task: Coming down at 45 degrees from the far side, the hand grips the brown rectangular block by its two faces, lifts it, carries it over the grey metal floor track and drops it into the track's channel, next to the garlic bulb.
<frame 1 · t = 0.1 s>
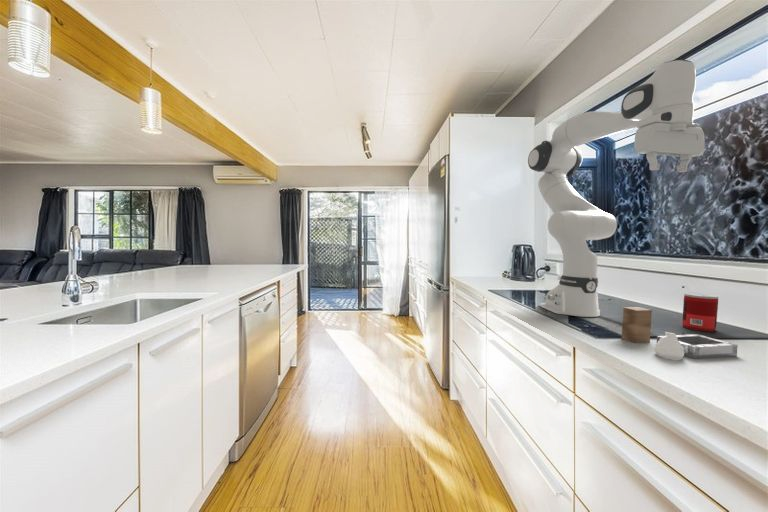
hand: (668, 170, 93), 48 cm above the countertop, tool pointing down, fingers open, 8 cm apart
garlic bulb: (668, 357, 80), on the countertop
brown rectangular block: (635, 340, 92), on the countertop
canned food: (698, 328, 106), on the countertop
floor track: (695, 351, 84), on the countertop
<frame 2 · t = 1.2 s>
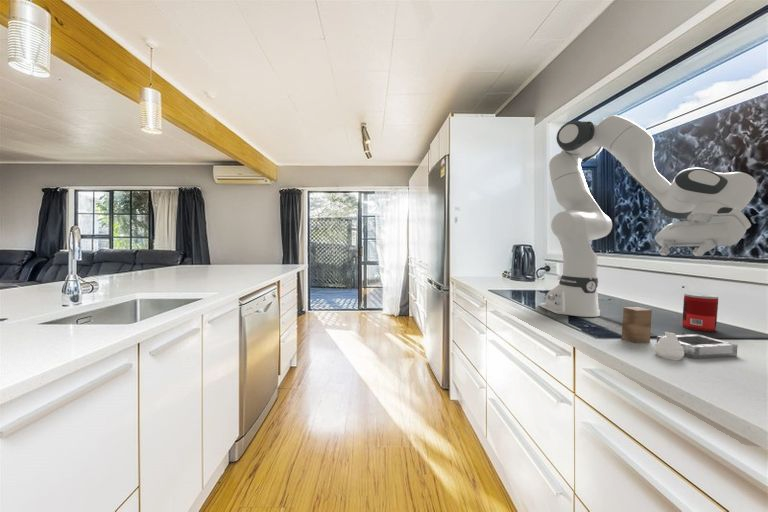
hand: (678, 254, 93), 24 cm above the countertop, tool tilted 45°, fingers open, 8 cm apart
nothing on the countertop moved.
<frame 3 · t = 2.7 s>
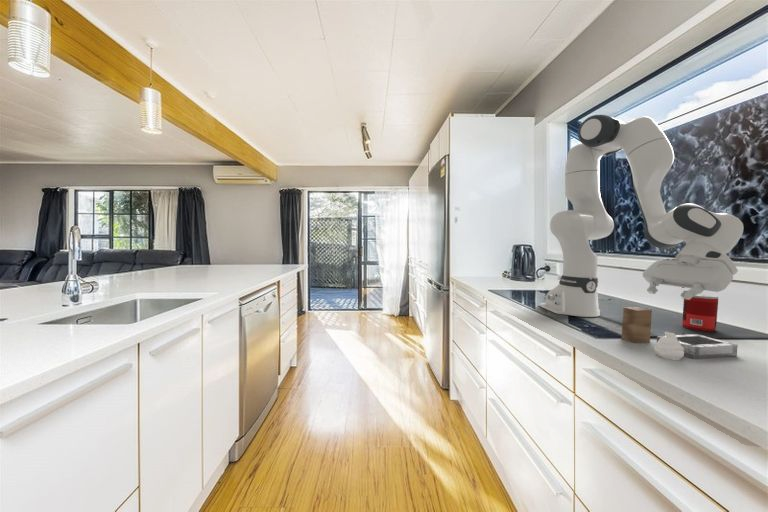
hand: (666, 294, 93), 13 cm above the countertop, tool tilted 45°, fingers open, 8 cm apart
nothing on the countertop moved.
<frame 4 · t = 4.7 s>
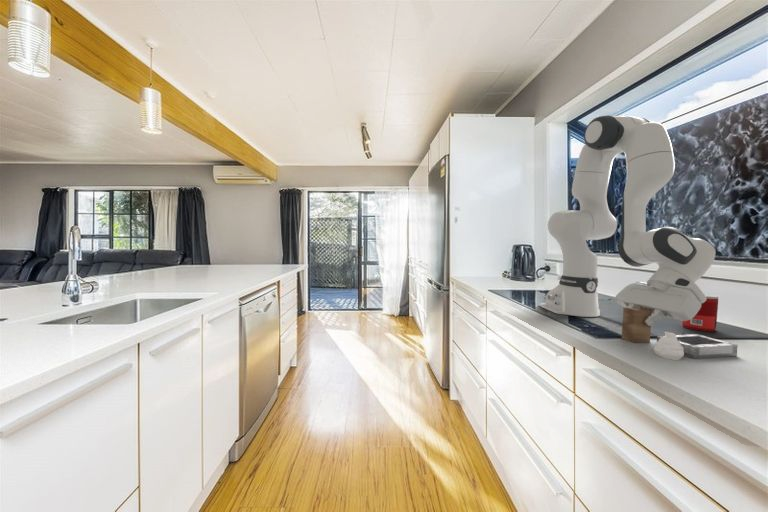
hand: (636, 321, 92), 5 cm above the countertop, tool tilted 45°, fingers closed on brown rectangular block, 4 cm apart
brown rectangular block: (635, 340, 92), on the countertop, touching gripper
everything else where it was.
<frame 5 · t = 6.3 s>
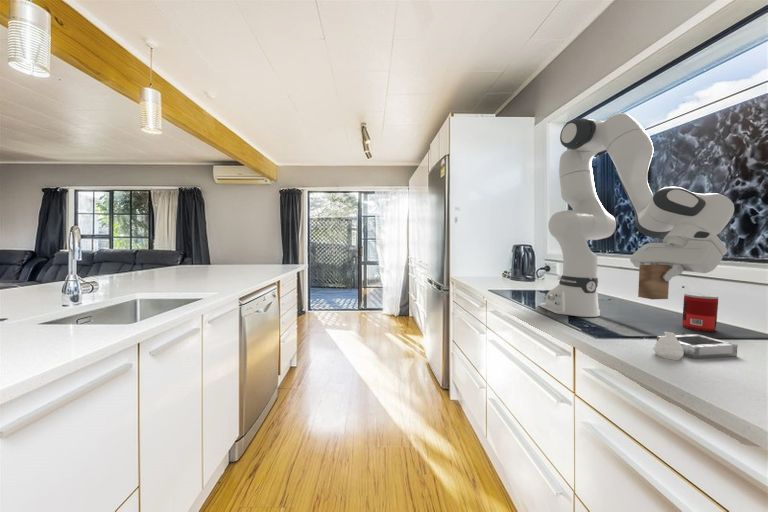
hand: (653, 278, 89), 18 cm above the countertop, tool tilted 45°, fingers closed on brown rectangular block, 4 cm apart
brown rectangular block: (652, 297, 89), point 13 cm above the countertop, touching gripper
everything else where it was.
when the fingers open (8 cm above the countertop, at t = 9.0 s): brown rectangular block drops 1 cm, resting on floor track.
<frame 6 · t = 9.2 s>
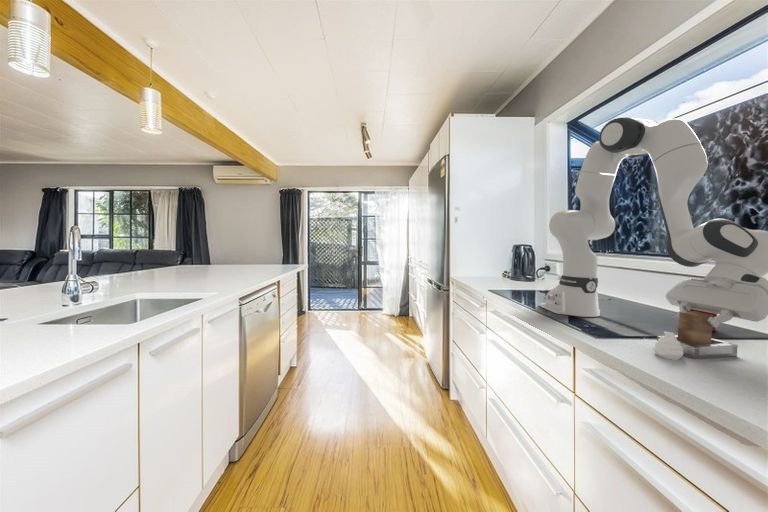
hand: (694, 321, 83), 8 cm above the countertop, tool tilted 45°, fingers open, 5 cm apart
brown rectangular block: (693, 348, 84), point 1 cm above the countertop, touching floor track
everything else where it was.
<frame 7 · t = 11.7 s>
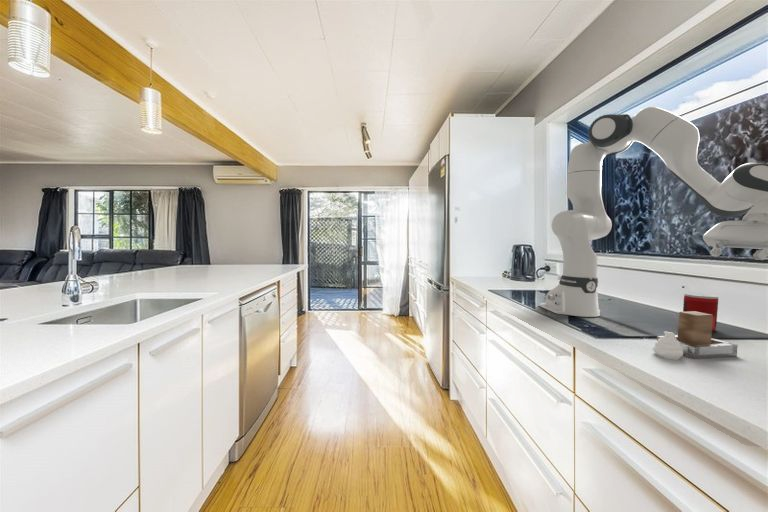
hand: (734, 256, 86), 24 cm above the countertop, tool tilted 45°, fingers open, 8 cm apart
nothing on the countertop moved.
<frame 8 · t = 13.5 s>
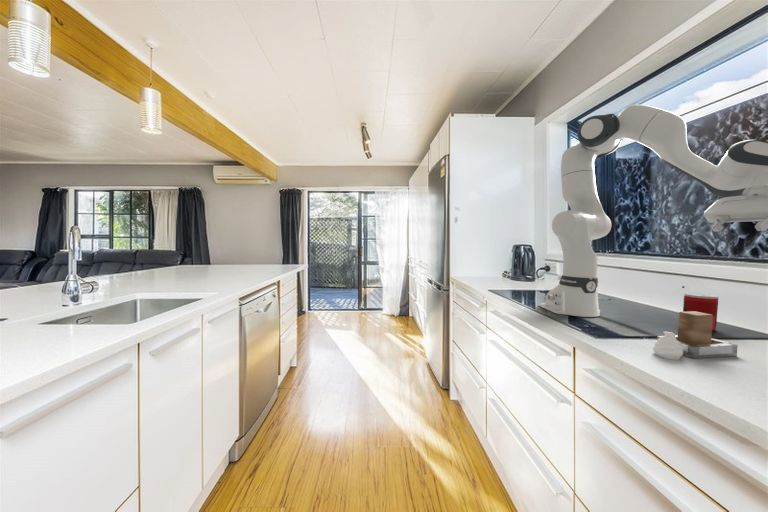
hand: (736, 229, 86), 31 cm above the countertop, tool tilted 45°, fingers open, 8 cm apart
nothing on the countertop moved.
at the end: brown rectangular block inside the target area on the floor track (0.5 cm from its centre), point 0.8 cm above the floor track's base; brown rectangular block tilted 0°; the gripper is holding nothing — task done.
